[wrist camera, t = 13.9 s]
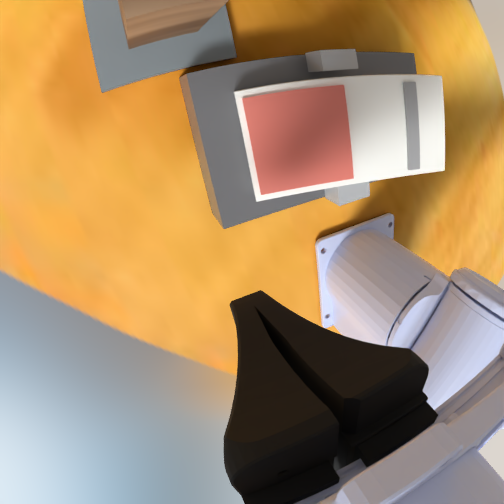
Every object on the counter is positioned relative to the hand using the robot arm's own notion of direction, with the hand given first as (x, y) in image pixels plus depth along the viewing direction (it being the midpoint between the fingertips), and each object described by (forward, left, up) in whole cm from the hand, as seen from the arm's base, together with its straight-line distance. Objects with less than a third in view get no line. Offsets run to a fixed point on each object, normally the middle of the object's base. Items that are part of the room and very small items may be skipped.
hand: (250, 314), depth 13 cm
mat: (+14, -1, -10) cm, 17 cm away
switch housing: (+5, -9, -10) cm, 14 cm away
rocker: (+5, -9, -6) cm, 12 cm away
